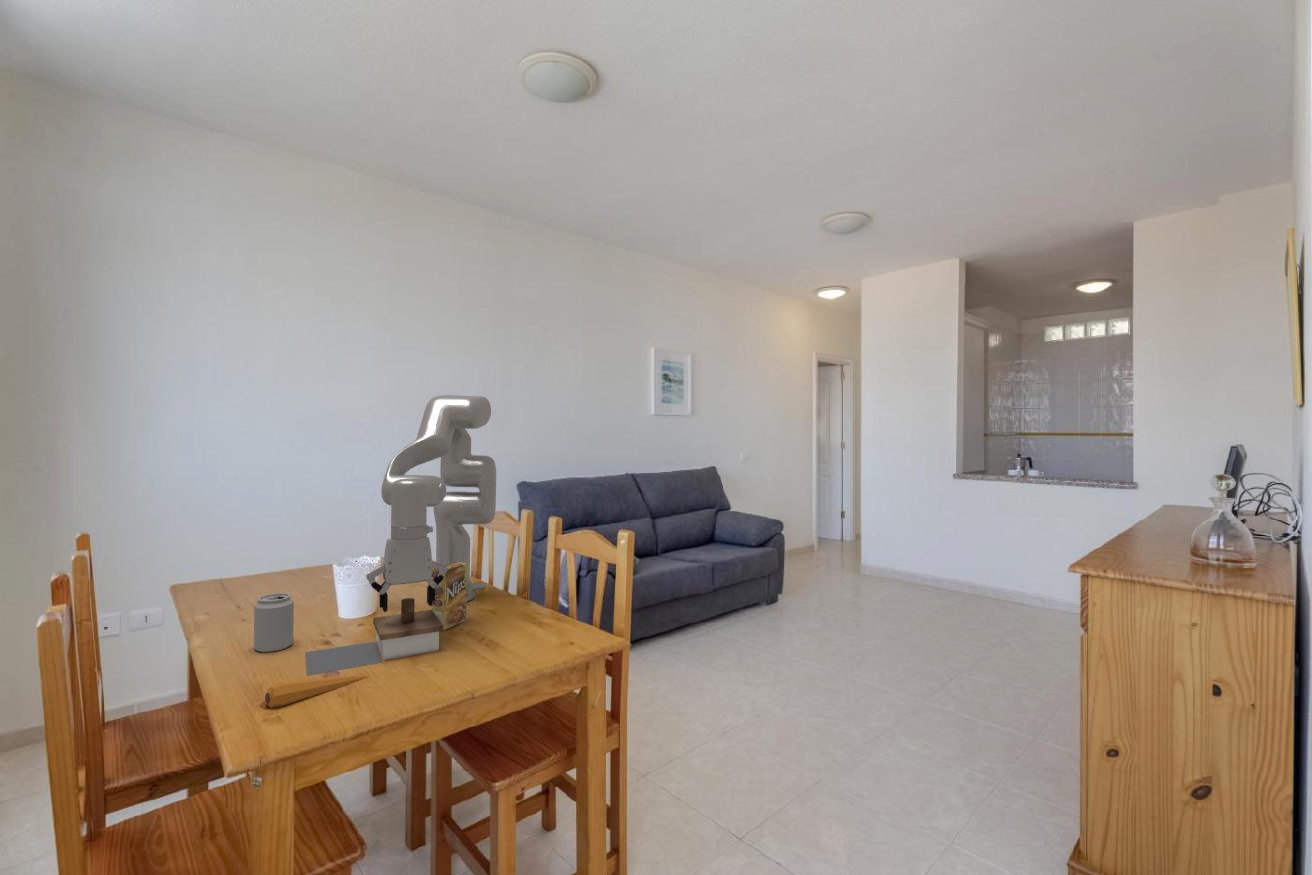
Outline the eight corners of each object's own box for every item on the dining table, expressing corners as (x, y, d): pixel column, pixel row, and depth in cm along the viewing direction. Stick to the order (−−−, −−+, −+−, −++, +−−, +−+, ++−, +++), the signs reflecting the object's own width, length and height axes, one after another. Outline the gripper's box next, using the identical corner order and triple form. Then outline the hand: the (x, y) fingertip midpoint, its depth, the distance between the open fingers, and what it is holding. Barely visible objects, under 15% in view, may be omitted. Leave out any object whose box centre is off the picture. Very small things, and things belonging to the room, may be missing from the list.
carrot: (267, 717, 105) (273, 696, 104) (260, 699, 107) (266, 679, 107) (379, 691, 120) (385, 672, 119) (370, 676, 123) (376, 658, 122)
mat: (374, 643, 138) (374, 641, 138) (382, 664, 126) (382, 662, 126) (305, 653, 131) (305, 652, 131) (306, 677, 119) (306, 675, 119)
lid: (431, 614, 144) (432, 589, 144) (443, 630, 133) (443, 603, 133) (373, 622, 138) (373, 596, 137) (380, 640, 127) (380, 611, 126)
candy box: (444, 631, 147) (445, 570, 147) (430, 629, 149) (431, 568, 148) (467, 620, 155) (468, 562, 155) (453, 618, 157) (454, 561, 157)
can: (301, 645, 136) (301, 593, 136) (270, 656, 129) (270, 602, 129) (277, 640, 139) (277, 589, 138) (245, 651, 131) (246, 598, 131)
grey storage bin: (428, 636, 144) (428, 615, 143) (438, 652, 134) (439, 630, 134) (376, 644, 137) (376, 623, 137) (382, 662, 128) (383, 639, 127)
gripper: (444, 527, 143) (443, 598, 143) (365, 533, 134) (364, 608, 134) (451, 532, 136) (450, 606, 137) (368, 538, 127) (367, 617, 128)
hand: (407, 607), depth 135 cm, fingers open, 9 cm apart
